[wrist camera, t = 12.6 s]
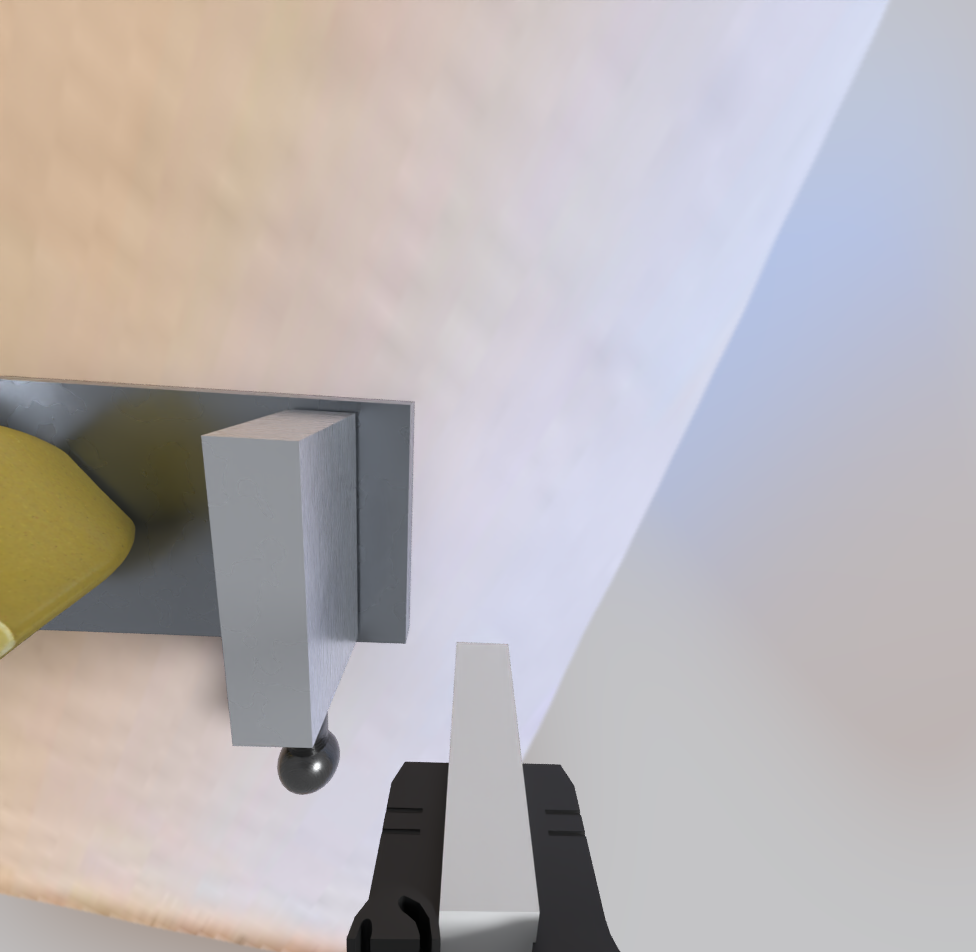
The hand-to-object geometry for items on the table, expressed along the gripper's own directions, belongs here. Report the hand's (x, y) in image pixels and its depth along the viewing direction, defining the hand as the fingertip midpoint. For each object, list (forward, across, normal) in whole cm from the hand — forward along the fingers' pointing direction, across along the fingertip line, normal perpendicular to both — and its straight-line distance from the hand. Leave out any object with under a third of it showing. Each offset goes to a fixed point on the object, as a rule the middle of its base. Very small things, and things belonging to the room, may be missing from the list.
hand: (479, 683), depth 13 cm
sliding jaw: (+10, -8, -2) cm, 13 cm away
